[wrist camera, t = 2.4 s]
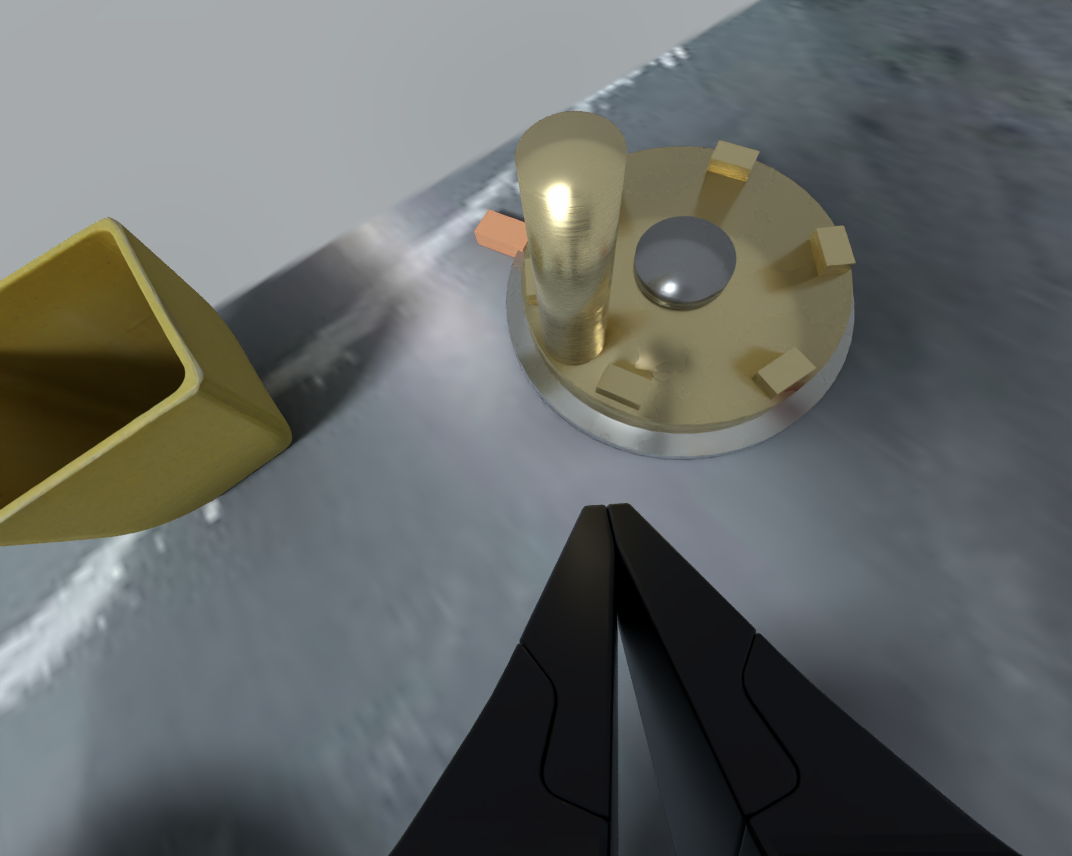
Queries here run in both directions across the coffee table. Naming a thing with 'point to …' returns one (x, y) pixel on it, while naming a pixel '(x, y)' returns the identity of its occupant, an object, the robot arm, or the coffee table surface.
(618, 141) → the crank disc
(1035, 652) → the coffee table surface
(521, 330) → the base plate
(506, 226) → the tab
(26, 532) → the flower pot
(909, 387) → the coffee table surface
